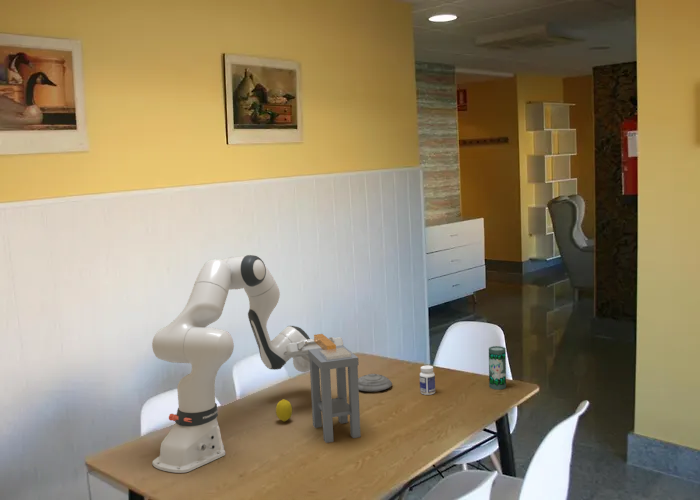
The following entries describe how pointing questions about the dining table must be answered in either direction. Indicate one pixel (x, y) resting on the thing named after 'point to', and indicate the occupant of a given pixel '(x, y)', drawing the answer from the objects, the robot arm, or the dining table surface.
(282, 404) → the lemon
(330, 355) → the turner
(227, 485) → the dining table surface
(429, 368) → the pill bottle
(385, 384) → the flying saucer
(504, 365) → the can
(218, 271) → the robot arm
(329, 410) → the stool
